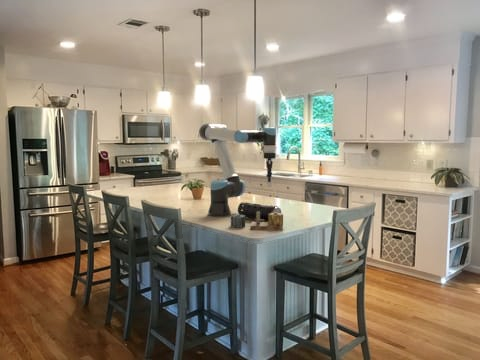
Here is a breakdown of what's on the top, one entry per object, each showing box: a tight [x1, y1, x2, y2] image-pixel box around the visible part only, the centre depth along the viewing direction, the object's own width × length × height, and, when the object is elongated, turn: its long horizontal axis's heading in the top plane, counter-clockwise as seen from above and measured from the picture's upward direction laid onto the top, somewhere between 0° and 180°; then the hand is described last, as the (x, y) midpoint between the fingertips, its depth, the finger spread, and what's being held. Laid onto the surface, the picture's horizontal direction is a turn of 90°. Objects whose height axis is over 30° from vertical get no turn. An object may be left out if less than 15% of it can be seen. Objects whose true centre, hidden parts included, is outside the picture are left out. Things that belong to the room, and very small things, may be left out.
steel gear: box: [230, 214, 246, 228], centre depth 229 cm, size 8×8×6 cm
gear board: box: [250, 212, 284, 231], centre depth 225 cm, size 18×11×9 cm, turn 83°
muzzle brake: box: [237, 201, 282, 222], centre depth 246 cm, size 10×28×10 cm, turn 51°
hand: (269, 185), depth 249 cm, fingers open, 13 cm apart
